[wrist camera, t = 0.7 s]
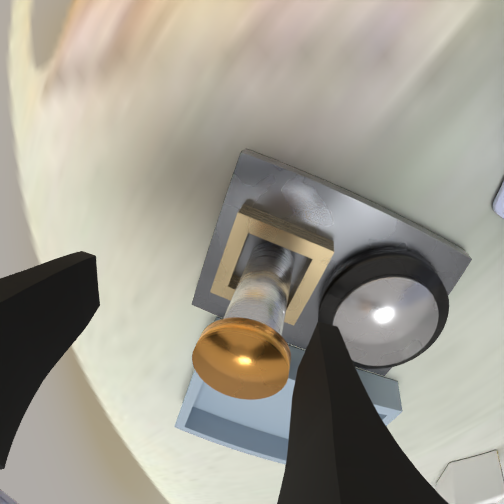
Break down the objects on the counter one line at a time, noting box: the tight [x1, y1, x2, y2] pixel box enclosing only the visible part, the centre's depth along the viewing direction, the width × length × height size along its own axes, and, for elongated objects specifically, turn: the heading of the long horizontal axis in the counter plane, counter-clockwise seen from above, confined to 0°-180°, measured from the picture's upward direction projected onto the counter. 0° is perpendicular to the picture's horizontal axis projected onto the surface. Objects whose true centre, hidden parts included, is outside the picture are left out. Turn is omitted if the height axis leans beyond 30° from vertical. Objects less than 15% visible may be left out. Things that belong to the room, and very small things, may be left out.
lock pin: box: [192, 242, 294, 400], centre depth 14 cm, size 3×3×8 cm
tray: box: [174, 317, 402, 464], centre depth 23 cm, size 15×12×3 cm
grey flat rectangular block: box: [192, 149, 472, 376], centre depth 17 cm, size 14×10×3 cm
